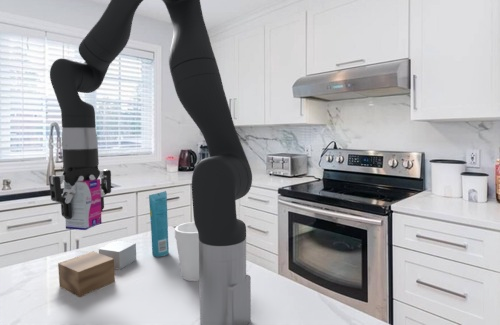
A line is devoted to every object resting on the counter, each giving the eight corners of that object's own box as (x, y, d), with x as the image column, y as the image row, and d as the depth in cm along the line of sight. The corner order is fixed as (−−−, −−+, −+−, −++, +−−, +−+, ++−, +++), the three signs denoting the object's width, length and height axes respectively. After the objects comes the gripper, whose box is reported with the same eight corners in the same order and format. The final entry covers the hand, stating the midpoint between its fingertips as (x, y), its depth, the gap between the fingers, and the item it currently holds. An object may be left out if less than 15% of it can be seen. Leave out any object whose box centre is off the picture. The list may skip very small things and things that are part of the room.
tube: (161, 248, 102) (159, 190, 100) (173, 250, 101) (172, 191, 99) (146, 257, 95) (143, 194, 94) (159, 259, 94) (157, 195, 92)
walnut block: (115, 281, 80) (113, 258, 80) (79, 297, 73) (78, 272, 72) (94, 272, 85) (93, 251, 85) (59, 286, 78) (58, 263, 77)
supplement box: (86, 230, 74) (84, 182, 73) (65, 229, 75) (61, 181, 74) (103, 223, 80) (100, 178, 79) (82, 222, 81) (79, 177, 80)
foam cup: (168, 277, 83) (167, 228, 81) (194, 264, 90) (193, 220, 89) (194, 287, 77) (193, 235, 76) (219, 273, 85) (219, 226, 83)
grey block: (136, 259, 94) (135, 243, 93) (119, 269, 87) (119, 251, 87) (117, 256, 96) (116, 240, 96) (99, 266, 89) (98, 249, 89)
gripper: (56, 149, 68) (61, 224, 69) (116, 146, 79) (119, 210, 81) (39, 148, 72) (44, 219, 73) (99, 145, 84) (102, 206, 85)
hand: (84, 214), depth 77 cm, fingers closed on supplement box, 7 cm apart
